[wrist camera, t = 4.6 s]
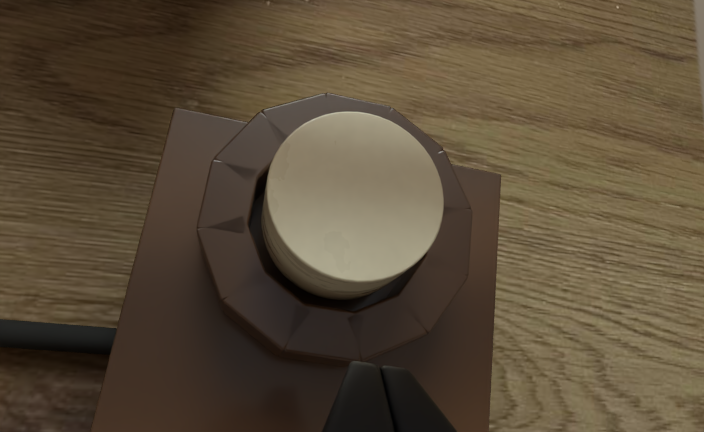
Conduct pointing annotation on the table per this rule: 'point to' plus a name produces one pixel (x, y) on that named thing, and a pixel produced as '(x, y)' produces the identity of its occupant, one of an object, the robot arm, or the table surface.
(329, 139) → the lamp switch
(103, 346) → the dark brown long rod
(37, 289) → the table surface
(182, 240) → the switch block
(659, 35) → the table surface
